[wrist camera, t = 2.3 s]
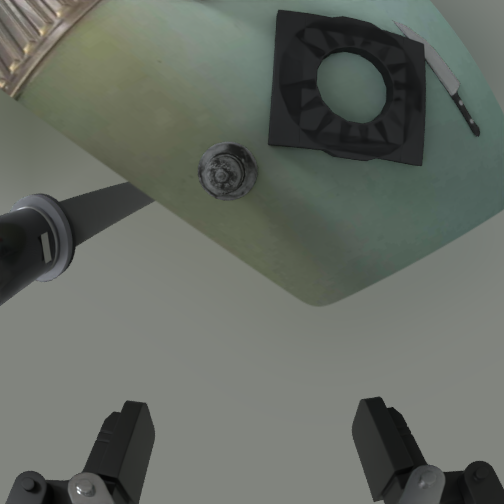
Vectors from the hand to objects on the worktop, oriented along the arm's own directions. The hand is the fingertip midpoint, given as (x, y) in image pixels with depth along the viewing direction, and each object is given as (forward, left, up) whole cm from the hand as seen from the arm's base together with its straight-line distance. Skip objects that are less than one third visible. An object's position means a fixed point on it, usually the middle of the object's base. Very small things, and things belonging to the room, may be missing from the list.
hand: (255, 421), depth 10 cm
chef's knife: (+24, +24, -27) cm, 43 cm away
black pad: (+10, +19, -26) cm, 34 cm away
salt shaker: (-3, +8, -27) cm, 28 cm away
